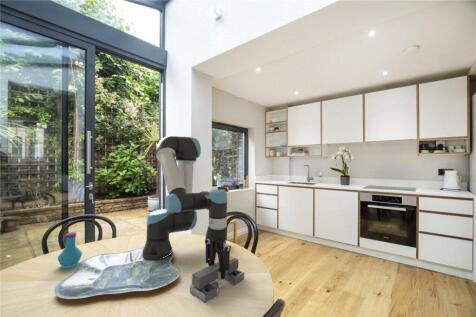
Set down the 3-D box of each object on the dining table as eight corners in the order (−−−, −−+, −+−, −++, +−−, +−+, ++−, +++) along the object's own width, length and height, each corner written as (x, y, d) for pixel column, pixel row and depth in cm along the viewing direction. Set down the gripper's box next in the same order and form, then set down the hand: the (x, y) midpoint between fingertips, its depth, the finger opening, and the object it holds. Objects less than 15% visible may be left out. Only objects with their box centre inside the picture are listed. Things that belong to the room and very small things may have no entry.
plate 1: (189, 292, 85) (190, 284, 85) (201, 286, 89) (202, 279, 89) (204, 303, 79) (205, 294, 79) (217, 295, 83) (217, 287, 83)
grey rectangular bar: (191, 294, 84) (192, 272, 84) (231, 273, 100) (231, 255, 100) (198, 298, 81) (199, 277, 81) (238, 276, 97) (238, 258, 98)
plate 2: (219, 277, 97) (219, 270, 97) (229, 272, 101) (229, 265, 101) (234, 285, 91) (234, 277, 91) (244, 279, 95) (244, 272, 95)
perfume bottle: (83, 264, 105) (84, 233, 105) (59, 271, 98) (60, 238, 98) (79, 258, 111) (80, 229, 111) (55, 264, 104) (57, 233, 105)
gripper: (197, 224, 94) (196, 279, 94) (226, 234, 83) (225, 296, 82) (210, 221, 100) (209, 273, 99) (239, 229, 88) (238, 288, 88)
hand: (216, 283), depth 91 cm, fingers closed on grey rectangular bar, 4 cm apart
